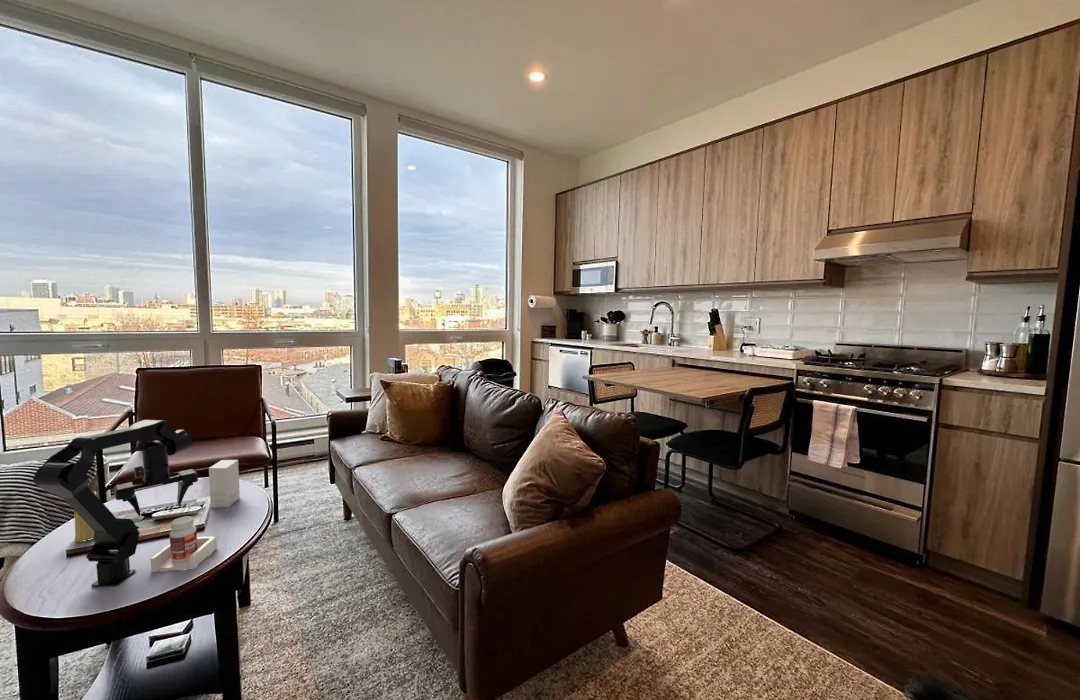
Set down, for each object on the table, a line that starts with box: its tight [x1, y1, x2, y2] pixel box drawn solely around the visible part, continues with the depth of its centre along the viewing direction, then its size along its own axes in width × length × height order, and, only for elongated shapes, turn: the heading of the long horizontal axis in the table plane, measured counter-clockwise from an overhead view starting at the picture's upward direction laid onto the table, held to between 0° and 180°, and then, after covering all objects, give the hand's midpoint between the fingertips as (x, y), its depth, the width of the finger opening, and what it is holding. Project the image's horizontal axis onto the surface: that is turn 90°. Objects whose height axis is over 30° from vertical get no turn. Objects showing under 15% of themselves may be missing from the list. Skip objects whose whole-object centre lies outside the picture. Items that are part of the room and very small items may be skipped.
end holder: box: [149, 535, 218, 573], centre depth 130 cm, size 11×11×4 cm
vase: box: [73, 490, 98, 542], centre depth 140 cm, size 6×6×14 cm
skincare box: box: [208, 459, 241, 509], centre depth 166 cm, size 8×7×16 cm
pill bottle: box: [169, 515, 198, 562], centre depth 129 cm, size 6×6×11 cm
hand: (159, 510), depth 134 cm, fingers open, 9 cm apart
